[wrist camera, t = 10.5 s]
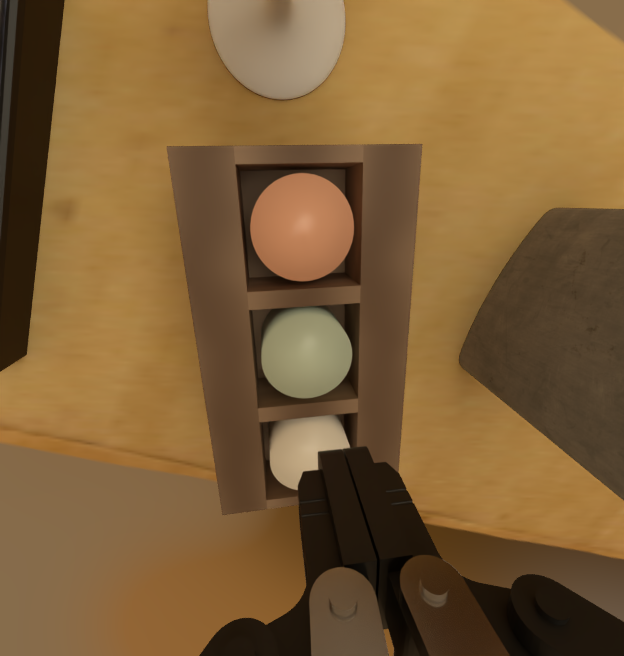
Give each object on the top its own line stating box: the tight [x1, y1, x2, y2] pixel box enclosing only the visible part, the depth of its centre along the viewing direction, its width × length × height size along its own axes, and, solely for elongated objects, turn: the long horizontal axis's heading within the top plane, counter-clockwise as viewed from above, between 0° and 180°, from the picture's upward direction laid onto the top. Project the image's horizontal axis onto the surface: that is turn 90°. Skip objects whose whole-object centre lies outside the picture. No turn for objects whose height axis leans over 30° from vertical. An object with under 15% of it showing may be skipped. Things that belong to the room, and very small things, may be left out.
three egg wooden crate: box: [167, 144, 422, 515], centre depth 24 cm, size 11×20×11 cm, turn 1°
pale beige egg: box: [269, 414, 350, 490], centre depth 22 cm, size 5×5×4 cm
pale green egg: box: [261, 305, 352, 398], centre depth 20 cm, size 5×5×4 cm
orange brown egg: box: [250, 173, 354, 281], centre depth 18 cm, size 5×5×4 cm
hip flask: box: [459, 208, 624, 500], centre depth 22 cm, size 16×4×20 cm, turn 155°
